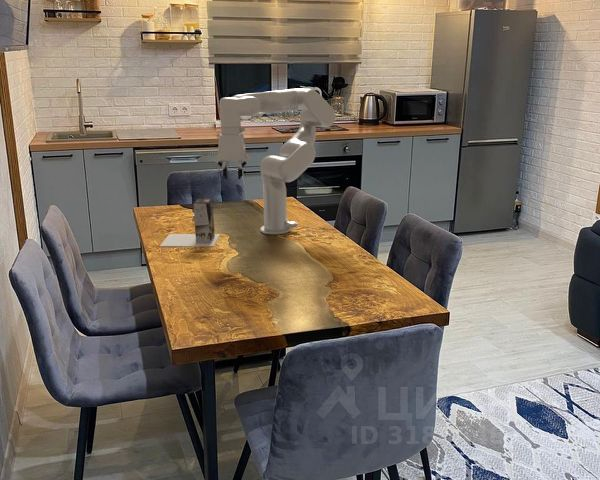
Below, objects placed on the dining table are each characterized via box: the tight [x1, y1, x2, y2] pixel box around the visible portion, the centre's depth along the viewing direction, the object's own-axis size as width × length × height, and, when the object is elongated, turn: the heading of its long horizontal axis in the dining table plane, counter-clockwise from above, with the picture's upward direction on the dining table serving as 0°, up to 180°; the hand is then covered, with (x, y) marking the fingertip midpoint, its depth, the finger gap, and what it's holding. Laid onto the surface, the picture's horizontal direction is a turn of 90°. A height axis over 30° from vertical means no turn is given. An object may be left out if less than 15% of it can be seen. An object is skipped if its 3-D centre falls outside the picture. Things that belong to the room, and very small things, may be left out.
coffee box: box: [193, 197, 216, 243], centre depth 234 cm, size 9×6×16 cm
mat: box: [159, 233, 221, 248], centre depth 237 cm, size 21×16×1 cm
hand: (232, 178), depth 229 cm, fingers open, 4 cm apart
